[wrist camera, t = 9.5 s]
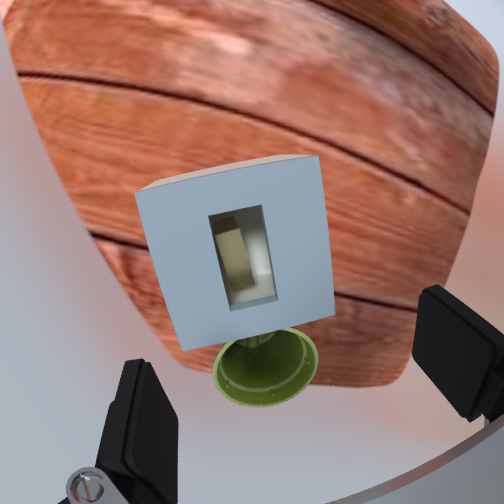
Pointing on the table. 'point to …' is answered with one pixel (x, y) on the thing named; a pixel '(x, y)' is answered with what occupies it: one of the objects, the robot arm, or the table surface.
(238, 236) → the block
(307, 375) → the plant pot
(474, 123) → the table surface
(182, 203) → the grey slotted box
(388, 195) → the table surface
